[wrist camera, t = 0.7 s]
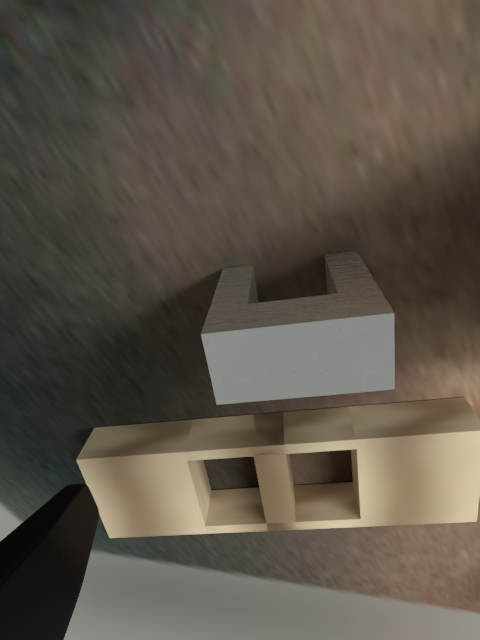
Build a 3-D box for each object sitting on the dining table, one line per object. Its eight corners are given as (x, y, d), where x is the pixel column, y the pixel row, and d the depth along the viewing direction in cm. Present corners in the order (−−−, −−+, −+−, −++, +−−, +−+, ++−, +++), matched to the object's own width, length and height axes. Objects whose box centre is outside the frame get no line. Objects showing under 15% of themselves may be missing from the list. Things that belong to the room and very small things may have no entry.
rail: (464, 397, 21) (487, 430, 19) (457, 483, 24) (476, 521, 22) (94, 427, 24) (76, 459, 22) (123, 502, 27) (109, 538, 24)
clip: (356, 250, 19) (394, 312, 13) (359, 308, 20) (395, 389, 14) (222, 268, 19) (200, 334, 14) (233, 322, 21) (216, 404, 15)
